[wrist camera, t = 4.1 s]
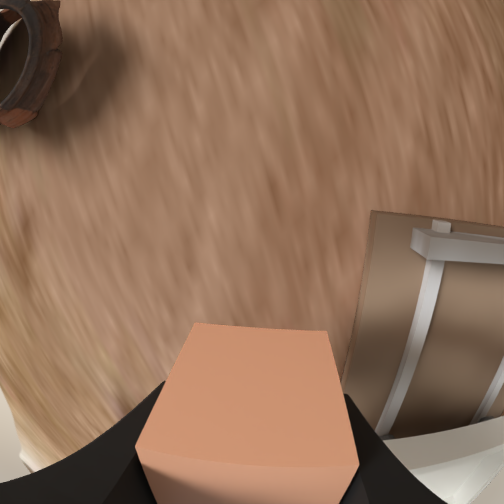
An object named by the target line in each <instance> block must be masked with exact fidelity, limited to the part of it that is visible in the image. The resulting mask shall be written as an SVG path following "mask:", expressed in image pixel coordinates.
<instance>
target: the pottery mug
mask: <svg viewBox="0 0 504 504" xmlns="http://www.w3.org/2000/svg"><path fill="white" fill-rule="evenodd" d="M59 8H60V1H59V0H58V1H53V0H42V1H30V0H0V9H4V10H2V11H1V12H0V42H1V40H2V37H3V35H4V33H5V32H6V31H7V29H8V28H9V27H10V26H11V25H12V24H13V23H15V22H16V21H17V20H19V19H20V18H23V20H24V22H25V24H26V26H27V30H28V34H29V50H28V56H27V59H26V63H25V66H24V69H23V71H22V74H21V76H20V78H19V80H18V82H17V83H16V85H15V87H14V88H13V89H12V91H11V92H10V94H9V95H8V96H7V97H6V98H5V99H4V100H3V101H2V102H1V103H0V108H1V109H0V125H1V124H3V125H6V126H8V127H10V128H11V127H12V128H16V127H18V126H21V125H23V124H25V123H27V122H29V121H30V120H32V119H34V118H35V117H36V116H37V114H38V112H37V111H38V110H39V109H40V108H41V107H42V105H43V103H44V101H45V99H46V97H47V94H48V92H49V90H50V88H51V85H52V83H53V81H54V78H55V75H56V73H57V70H58V66H59V63H60V60H61V57H62V52H61V51H60V50H59V49H57V47H58V46H59V45H60V44H61V43H62V31H61V27H60V23H59V17H58V12H59Z"/></svg>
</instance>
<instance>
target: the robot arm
mask: <svg viewBox="0 0 504 504" xmlns="http://www.w3.org/2000/svg"><path fill="white" fill-rule="evenodd" d="M165 382H166V381H164V382H162V383H161V384H160V385H159V386H158V387H157V388H156V389H155V390H154V391H152V392H151V393H150V394H149V395H148V396H147V397H146V398H145V399H144V400H143V401H142V402H141V403H140V404H138V405H137V406H136V407H135V408H134V409H133V410H132V411H131V412H129V413H128V414H127V415H126V416H125V417H123V418H122V419H121V420H120V421H119V422H118V423H116V424H115V425H114V426H113V427H111V428H110V429H109V430H107V431H106V432H105V433H103V434H102V435H100V436H99V437H98V438H96V439H95V440H94V441H92V442H91V443H89V444H88V445H86V446H85V447H83V448H82V449H80V450H78V451H77V452H75V453H73V454H71V455H70V456H68V457H66V458H64V459H63V460H61V461H59V462H56V463H54V464H52V465H50V466H48V467H46V468H44V469H41V470H39V471H37V472H34V473H32V474H29V475H26V476H23V477H20V478H17V479H14V480H10V481H7V482H3V483H0V504H157V502H156V499H155V497H154V495H153V492H152V490H151V488H150V485H149V483H148V480H147V478H146V475H145V473H144V470H143V467H142V465H141V462H140V459H139V457H138V454H137V451H136V448H135V445H136V443H137V441H138V439H139V437H140V434H141V432H142V430H143V428H144V426H145V424H146V422H147V420H148V418H149V415H150V413H151V411H152V409H153V407H154V405H155V403H156V401H157V399H158V397H159V395H160V393H161V391H162V388H163V386H164V384H165ZM343 395H344V399H345V403H346V408H347V412H348V416H349V420H350V424H351V429H352V433H353V437H354V442H355V446H356V451H357V456H358V460H359V467H358V469H357V471H356V473H355V475H354V476H353V478H352V480H351V482H350V484H349V486H348V488H347V490H346V491H345V493H344V495H343V497H342V499H341V500H340V502H339V504H448V503H447V502H445V501H444V500H442V499H441V498H440V497H438V496H437V495H436V494H435V493H433V492H432V491H431V490H430V489H428V488H427V487H426V486H425V485H424V484H423V483H422V482H420V481H419V480H418V479H417V478H416V477H415V476H414V475H413V474H412V473H411V472H410V471H409V470H408V469H407V468H406V467H405V466H404V465H403V464H402V463H401V462H400V461H399V459H398V458H397V457H396V456H395V455H394V454H393V453H392V452H391V450H390V449H389V448H388V447H387V446H386V444H385V443H384V442H383V441H382V439H381V438H380V437H379V436H378V434H377V433H376V432H375V431H374V429H373V428H372V427H371V425H370V424H369V423H368V421H367V420H366V419H365V417H364V416H363V414H362V413H361V412H360V410H359V409H358V407H357V406H356V404H355V403H354V402H353V400H352V399H351V397H350V396H349V395H348V394H343Z"/></svg>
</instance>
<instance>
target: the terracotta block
mask: <svg viewBox="0 0 504 504" xmlns="http://www.w3.org/2000/svg"><path fill="white" fill-rule="evenodd" d="M135 448H136V451H137V454H138V457H139V459H140V462H141V465H142V467H143V470H144V473H145V475H146V478H147V480H148V483H149V485H150V488H151V490H152V492H153V495H154V497H155V499H156V502H157V504H339V502H340V500H341V499H342V497H343V495H344V493H345V491H346V490H347V488H348V486H349V484H350V482H351V480H352V478H353V476H354V475H355V473H356V471H357V469H358V467H359V460H358V456H357V451H356V446H355V442H354V437H353V433H352V429H351V424H350V420H349V416H348V412H347V408H346V403H345V399H344V395H343V391H342V387H341V383H340V379H339V376H338V372H337V368H336V364H335V360H334V356H333V353H332V349H331V345H330V341H329V338H328V334H327V331H307V330H285V329H267V328H252V327H239V326H227V325H215V324H205V323H194V325H193V327H192V329H191V331H190V333H189V335H188V337H187V339H186V341H185V343H184V345H183V347H182V350H181V352H180V354H179V356H178V358H177V360H176V362H175V364H174V366H173V368H172V370H171V372H170V374H169V376H168V378H167V380H166V382H165V384H164V386H163V388H162V391H161V393H160V395H159V397H158V399H157V401H156V403H155V405H154V407H153V409H152V411H151V413H150V415H149V418H148V420H147V422H146V424H145V426H144V428H143V430H142V432H141V434H140V437H139V439H138V441H137V443H136V445H135Z"/></svg>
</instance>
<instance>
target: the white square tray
mask: <svg viewBox="0 0 504 504" xmlns="http://www.w3.org/2000/svg"><path fill="white" fill-rule="evenodd" d="M379 437H380V438H381V439H382V441H383V442H384V443H385V444H386V446H387V447H388V448H389V449H390V450H391V452H392V453H393V454H394V455H395V456H396V457H397V458H398V459H399V461H400V462H401V463H402V464H403V465H404V466H405V467H406V468H407V469H408V470H409V471H410V472H411V473H412V474H413V475H414V476H415V477H416V478H417V479H418V480H419V481H420V482H422V483H423V484H424V485H425V486H426V487H427V488H428V489H430V490H431V491H432V492H433V493H435V494H436V495H437V496H438V497H440V498H441V499H442V500H444V501H445V502H447V503H448V504H471V503H472V502H473V500H475V499H476V497H477V496H478V495H479V494H480V493H481V492H482V491H483V490H484V489H485V488H486V487H487V486H488V485H489V483H490V482H491V481H492V480H493V479H494V478H495V477H496V475H497V474H498V473H499V472H500V471H501V469H502V468H503V467H504V416H501V417H498V418H494V417H493V416H487V417H483V418H481V419H480V420H479V422H478V423H477V424H473V425H469V426H465V427H460V428H456V429H452V430H447V431H442V432H437V433H432V434H426V435H420V436H414V437H407V438H400V439H395V438H394V436H393V435H384V436H379Z"/></svg>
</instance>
